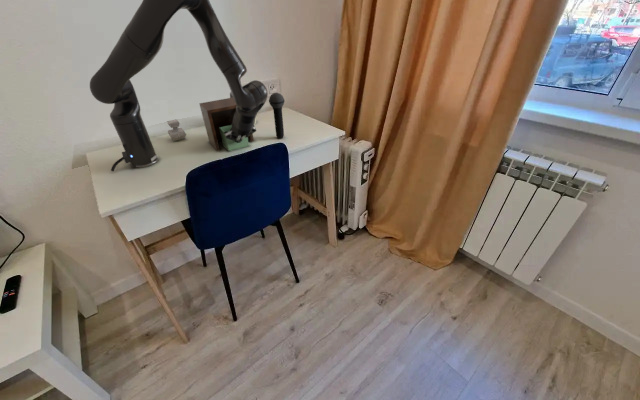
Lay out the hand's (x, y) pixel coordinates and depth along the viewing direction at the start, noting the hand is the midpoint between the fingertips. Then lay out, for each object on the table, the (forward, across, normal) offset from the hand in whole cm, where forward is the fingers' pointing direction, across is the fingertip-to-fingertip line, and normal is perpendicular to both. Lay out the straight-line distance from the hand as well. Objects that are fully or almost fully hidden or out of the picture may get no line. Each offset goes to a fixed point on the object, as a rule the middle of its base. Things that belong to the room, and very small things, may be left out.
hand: (237, 140), depth 117 cm
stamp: (+22, +19, -16) cm, 33 cm away
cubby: (+10, 0, -4) cm, 10 cm away
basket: (+6, 0, 0) cm, 6 cm away
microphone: (+4, -20, +2) cm, 20 cm away
